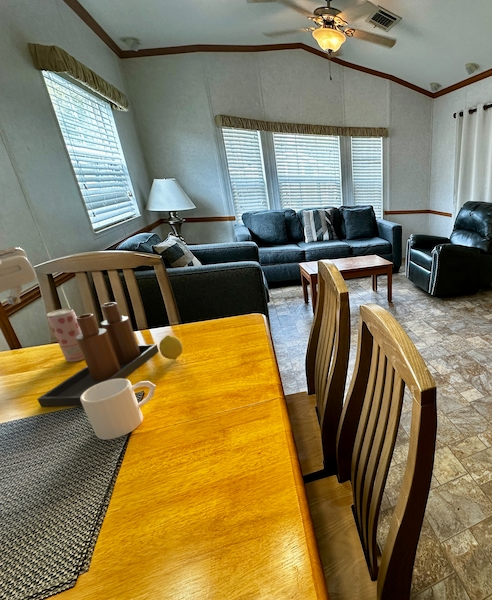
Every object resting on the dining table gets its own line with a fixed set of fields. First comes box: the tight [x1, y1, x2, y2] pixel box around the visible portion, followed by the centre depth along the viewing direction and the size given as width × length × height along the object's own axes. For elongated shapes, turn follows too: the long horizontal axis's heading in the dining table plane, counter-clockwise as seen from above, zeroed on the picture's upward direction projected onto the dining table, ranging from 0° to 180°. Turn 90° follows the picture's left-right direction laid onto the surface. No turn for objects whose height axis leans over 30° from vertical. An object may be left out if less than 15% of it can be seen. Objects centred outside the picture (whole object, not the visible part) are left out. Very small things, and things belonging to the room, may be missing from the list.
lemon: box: [158, 334, 184, 361], centre depth 96 cm, size 6×6×8 cm
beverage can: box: [46, 307, 84, 363], centre depth 96 cm, size 6×6×15 cm
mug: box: [80, 378, 157, 441], centre depth 71 cm, size 8×12×10 cm, turn 131°
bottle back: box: [100, 301, 141, 364], centre depth 94 cm, size 6×6×18 cm
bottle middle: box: [76, 313, 121, 381], centre depth 86 cm, size 6×6×18 cm
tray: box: [36, 343, 160, 408], centre depth 89 cm, size 25×11×2 cm, turn 2°
